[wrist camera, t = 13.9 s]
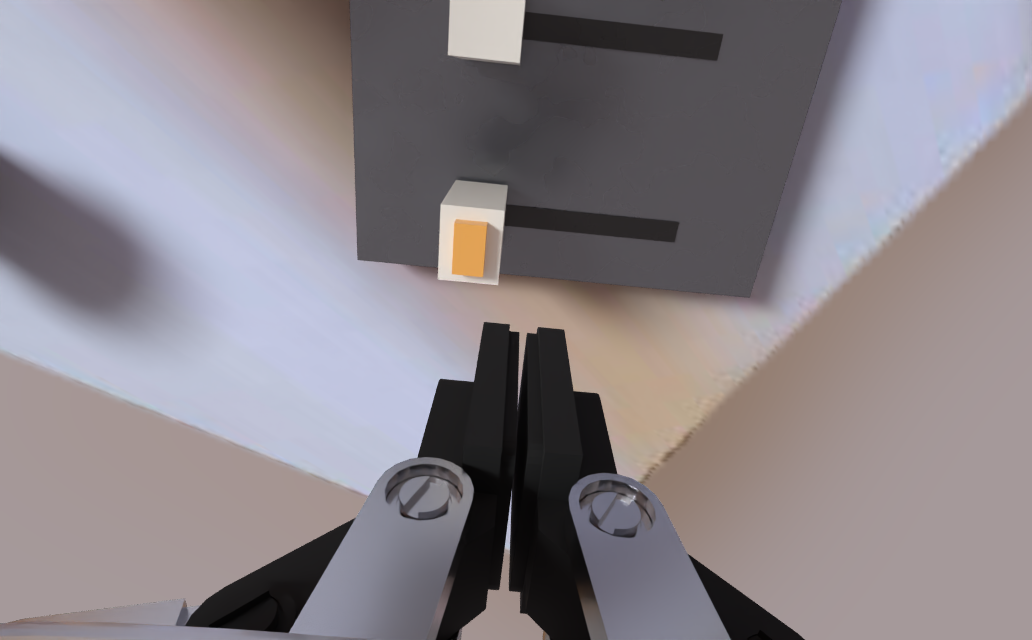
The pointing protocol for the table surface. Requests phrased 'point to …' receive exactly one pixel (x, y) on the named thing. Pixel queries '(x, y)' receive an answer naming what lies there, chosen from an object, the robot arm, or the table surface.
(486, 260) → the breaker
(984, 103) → the table surface
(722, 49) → the grey slider panel
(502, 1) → the block
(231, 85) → the table surface
